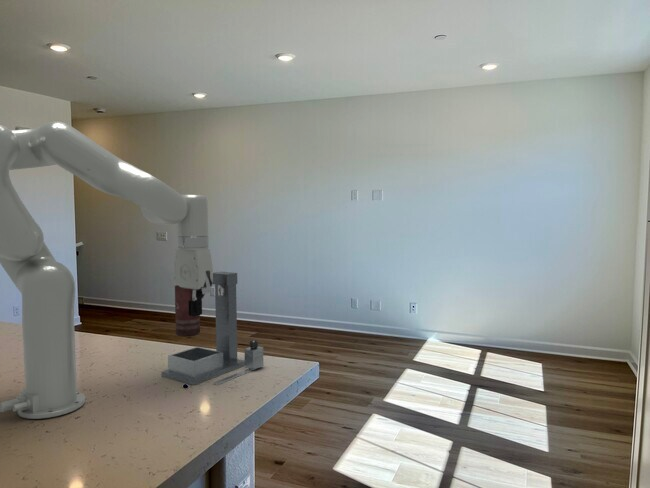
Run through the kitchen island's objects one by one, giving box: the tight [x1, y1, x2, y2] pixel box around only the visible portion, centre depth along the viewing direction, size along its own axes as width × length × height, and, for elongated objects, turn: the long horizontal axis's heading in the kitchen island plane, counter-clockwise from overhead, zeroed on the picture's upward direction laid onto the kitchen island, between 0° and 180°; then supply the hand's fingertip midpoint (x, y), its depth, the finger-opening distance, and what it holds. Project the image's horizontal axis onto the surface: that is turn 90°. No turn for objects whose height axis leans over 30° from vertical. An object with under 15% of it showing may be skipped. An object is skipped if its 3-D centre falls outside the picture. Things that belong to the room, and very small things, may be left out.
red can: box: [174, 285, 201, 338], centre depth 123 cm, size 6×6×14 cm
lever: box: [244, 339, 264, 371], centre depth 126 cm, size 4×3×7 cm
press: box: [161, 271, 261, 386], centre depth 123 cm, size 19×17×25 cm
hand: (195, 314), depth 122 cm, fingers closed, pressing on red can
